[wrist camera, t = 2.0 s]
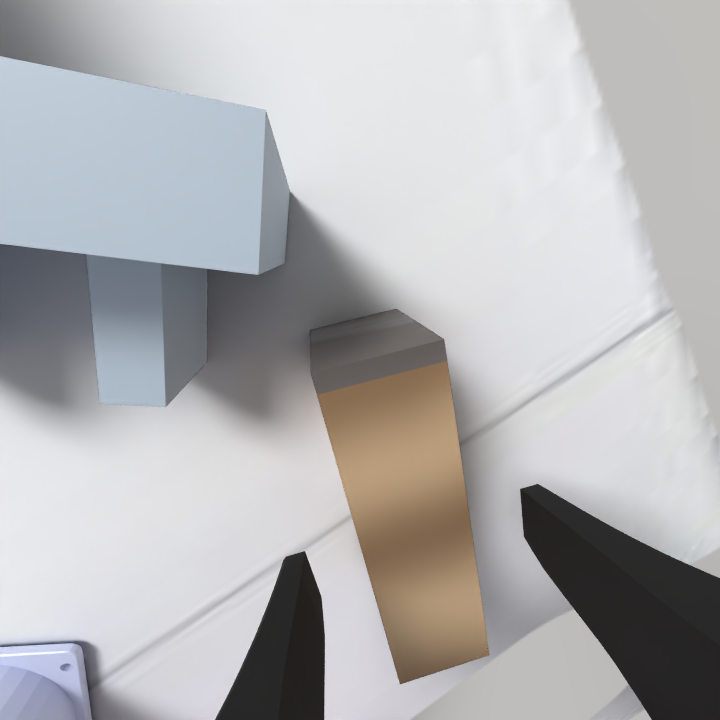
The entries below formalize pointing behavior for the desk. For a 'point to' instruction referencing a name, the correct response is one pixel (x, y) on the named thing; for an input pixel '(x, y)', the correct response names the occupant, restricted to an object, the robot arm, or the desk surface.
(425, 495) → the brown wooden block
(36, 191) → the pale blue bench
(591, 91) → the desk surface
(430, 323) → the desk surface
